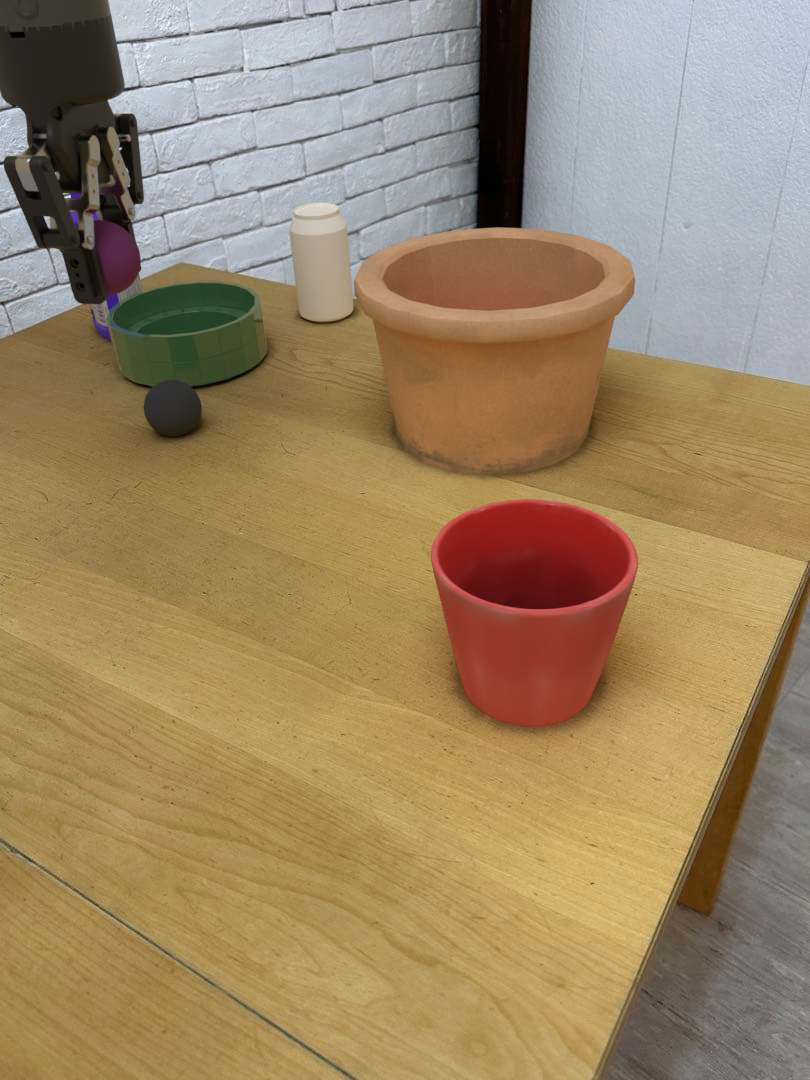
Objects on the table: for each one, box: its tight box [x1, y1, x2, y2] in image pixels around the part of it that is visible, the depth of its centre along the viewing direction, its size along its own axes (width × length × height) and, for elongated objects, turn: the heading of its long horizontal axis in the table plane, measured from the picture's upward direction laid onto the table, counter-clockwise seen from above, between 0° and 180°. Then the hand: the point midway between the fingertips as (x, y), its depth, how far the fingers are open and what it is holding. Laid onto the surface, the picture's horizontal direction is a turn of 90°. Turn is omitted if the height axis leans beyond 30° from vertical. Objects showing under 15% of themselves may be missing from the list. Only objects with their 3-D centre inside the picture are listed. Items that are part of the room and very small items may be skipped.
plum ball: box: [77, 220, 142, 295], centre depth 63 cm, size 5×5×5 cm
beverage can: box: [288, 202, 354, 323], centre depth 99 cm, size 6×6×12 cm
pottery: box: [353, 226, 636, 477], centre depth 75 cm, size 22×22×14 cm
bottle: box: [69, 193, 144, 342], centre depth 97 cm, size 7×6×17 cm
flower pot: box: [430, 498, 639, 728], centre depth 51 cm, size 11×11×10 cm
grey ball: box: [143, 380, 203, 438], centre depth 80 cm, size 5×5×5 cm
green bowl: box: [106, 280, 268, 387], centre depth 93 cm, size 15×15×6 cm
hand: (109, 286), depth 64 cm, fingers closed on plum ball, 5 cm apart
